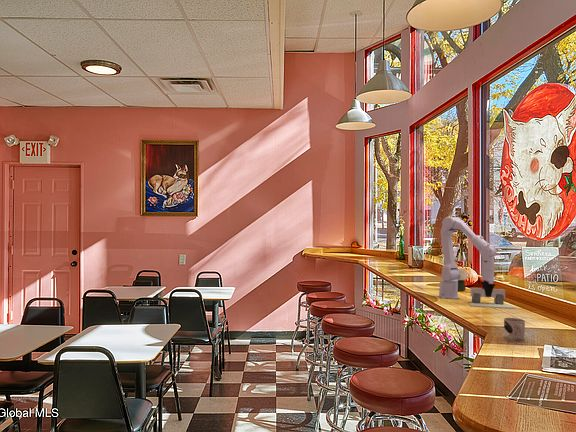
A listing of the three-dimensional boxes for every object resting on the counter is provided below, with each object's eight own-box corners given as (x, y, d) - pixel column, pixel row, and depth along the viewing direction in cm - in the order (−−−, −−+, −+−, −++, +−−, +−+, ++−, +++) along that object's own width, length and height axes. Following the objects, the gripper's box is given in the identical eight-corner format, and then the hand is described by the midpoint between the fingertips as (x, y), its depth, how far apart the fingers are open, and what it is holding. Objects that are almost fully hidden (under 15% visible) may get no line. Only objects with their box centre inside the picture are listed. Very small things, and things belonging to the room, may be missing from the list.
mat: (471, 306, 228) (471, 305, 228) (468, 304, 235) (468, 302, 235) (514, 308, 225) (515, 307, 225) (510, 306, 232) (510, 305, 232)
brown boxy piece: (474, 303, 236) (474, 293, 236) (471, 301, 242) (471, 292, 242) (480, 304, 236) (480, 294, 236) (477, 302, 242) (478, 292, 242)
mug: (500, 335, 170) (501, 317, 170) (519, 336, 170) (519, 318, 170) (513, 342, 160) (513, 323, 160) (532, 343, 160) (533, 324, 160)
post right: (497, 305, 234) (497, 295, 234) (494, 303, 240) (494, 293, 240) (503, 305, 234) (503, 295, 234) (500, 303, 239) (500, 293, 240)
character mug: (468, 290, 284) (468, 268, 284) (470, 291, 277) (471, 270, 277) (449, 289, 286) (450, 268, 286) (451, 291, 279) (452, 269, 279)
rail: (471, 296, 238) (471, 288, 238) (470, 295, 241) (470, 287, 241) (505, 298, 235) (505, 290, 235) (503, 297, 238) (503, 289, 238)
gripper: (500, 271, 230) (499, 299, 230) (492, 268, 244) (492, 294, 244) (484, 270, 231) (484, 298, 231) (478, 268, 246) (478, 293, 246)
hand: (487, 296), depth 238 cm, fingers open, 4 cm apart
